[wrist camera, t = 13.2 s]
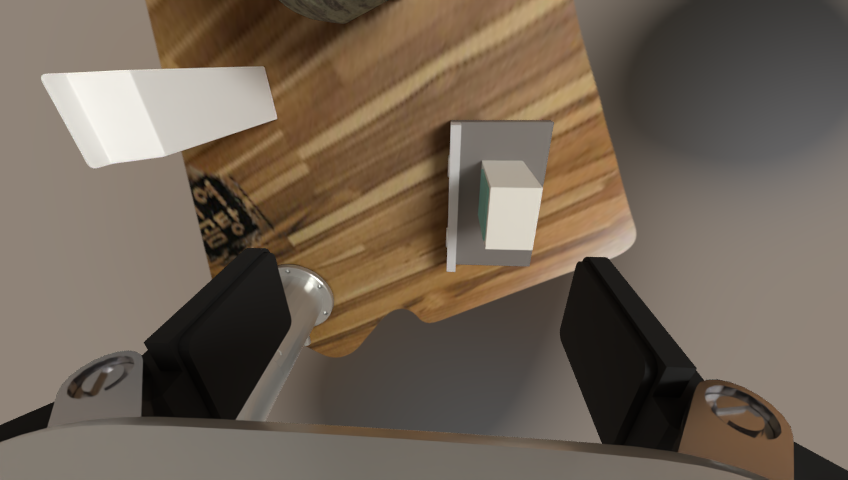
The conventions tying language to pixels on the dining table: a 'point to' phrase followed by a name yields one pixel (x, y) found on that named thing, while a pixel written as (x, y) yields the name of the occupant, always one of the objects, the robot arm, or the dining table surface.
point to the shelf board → (464, 173)
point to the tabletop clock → (332, 8)
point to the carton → (508, 205)
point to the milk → (157, 109)
